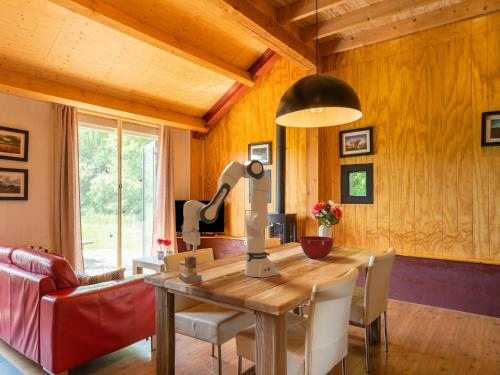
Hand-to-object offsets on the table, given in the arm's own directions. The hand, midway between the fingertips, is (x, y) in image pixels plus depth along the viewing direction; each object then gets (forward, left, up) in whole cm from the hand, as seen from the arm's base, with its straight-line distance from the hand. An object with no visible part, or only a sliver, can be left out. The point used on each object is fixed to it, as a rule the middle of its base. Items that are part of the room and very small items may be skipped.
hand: (191, 251), depth 189 cm
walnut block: (+1, 0, -9) cm, 9 cm away
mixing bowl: (-113, -17, -17) cm, 115 cm away
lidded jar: (-2, -13, -17) cm, 21 cm away
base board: (0, 0, -16) cm, 16 cm away
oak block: (0, 0, -13) cm, 13 cm away
